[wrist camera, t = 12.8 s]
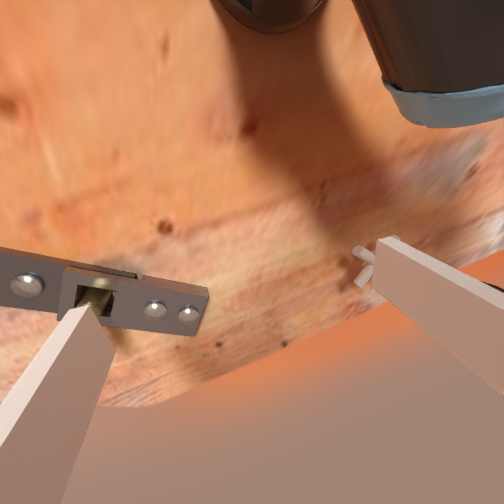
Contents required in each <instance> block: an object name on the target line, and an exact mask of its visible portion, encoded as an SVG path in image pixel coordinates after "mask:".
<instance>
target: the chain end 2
mask: <svg viewBox="0 0 504 504" xmlns="http://www.w3.org/2000/svg"><path fill="white" fill-rule="evenodd" d="M80 285H84V286H90V287H96V288H102V289H108V290H114V291H116V294H115V299H114V303H113V308H112V312H109V311H103V312H102V314H101V316H100V318H99V320H98V321H99V323H100V324H101V326H108V327H117V328H125V329H134V330H143V331H151V332H160V333H169V334H177V335H186V336H194V335H195V332H196V329H197V327H198V324H199V321H200V319H201V316H202V313H203V311H204V308H205V305H206V303H207V300H208V297H209V296H208V289H207V287H202V286H197V285H191V284H186V283H181V282H176V281H171V280H166V279H161V278H156V277H151V276H146V275H143V277H142V279H141V280H138V279H133V278H128V277H122V276H117V275H112V274H106V273H101V272H96V271H90V270H85V269H80V268H75V267H69V266H67V267H66V268H65V270H64V271H63V278H62V285H61V292H60V300H59V307H58V314H57V321H61V320H62V319H63V317H64V316H65V315H66V313H67V312H68V310H70V309H74V308H76V307H77V301H78V295H79V289H80Z"/></svg>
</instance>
